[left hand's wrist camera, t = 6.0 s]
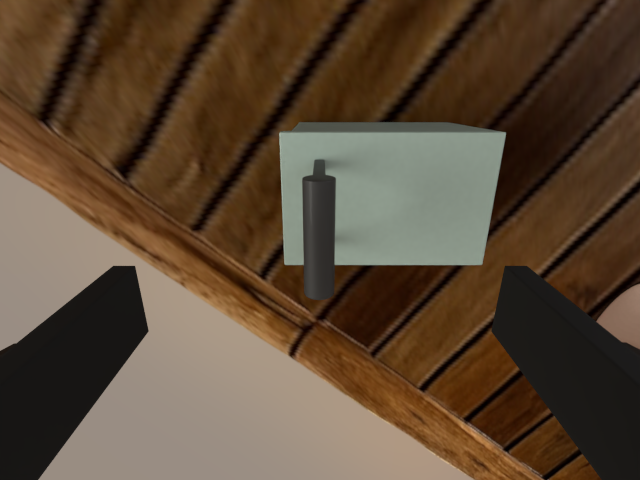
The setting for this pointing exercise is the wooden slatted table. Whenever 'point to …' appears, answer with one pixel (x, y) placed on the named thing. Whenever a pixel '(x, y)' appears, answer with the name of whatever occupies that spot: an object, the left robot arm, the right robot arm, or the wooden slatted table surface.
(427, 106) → the wooden slatted table surface
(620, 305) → the anatomical model
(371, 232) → the lid
